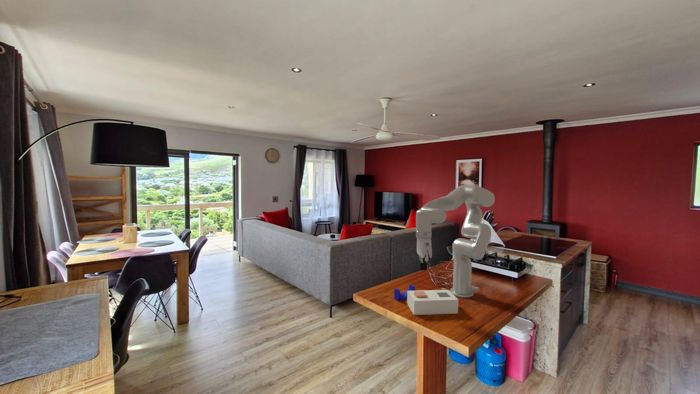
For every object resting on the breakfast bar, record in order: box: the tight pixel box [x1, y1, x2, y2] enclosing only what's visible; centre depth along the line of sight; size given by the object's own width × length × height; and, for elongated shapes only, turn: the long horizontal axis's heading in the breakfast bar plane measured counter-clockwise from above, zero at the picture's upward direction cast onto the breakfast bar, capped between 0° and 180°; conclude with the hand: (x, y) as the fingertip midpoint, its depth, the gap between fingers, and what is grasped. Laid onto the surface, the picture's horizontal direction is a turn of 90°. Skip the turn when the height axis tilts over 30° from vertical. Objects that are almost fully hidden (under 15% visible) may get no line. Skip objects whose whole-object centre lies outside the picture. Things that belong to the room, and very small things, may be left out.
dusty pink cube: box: [414, 290, 427, 298], centre depth 144 cm, size 5×5×6 cm
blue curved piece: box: [393, 284, 416, 302], centre depth 158 cm, size 12×4×6 cm, turn 118°
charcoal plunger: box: [437, 293, 450, 297], centre depth 145 cm, size 5×5×6 cm
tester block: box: [406, 289, 459, 316], centre depth 145 cm, size 22×12×7 cm, turn 95°
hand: (423, 269), depth 145 cm, fingers closed
